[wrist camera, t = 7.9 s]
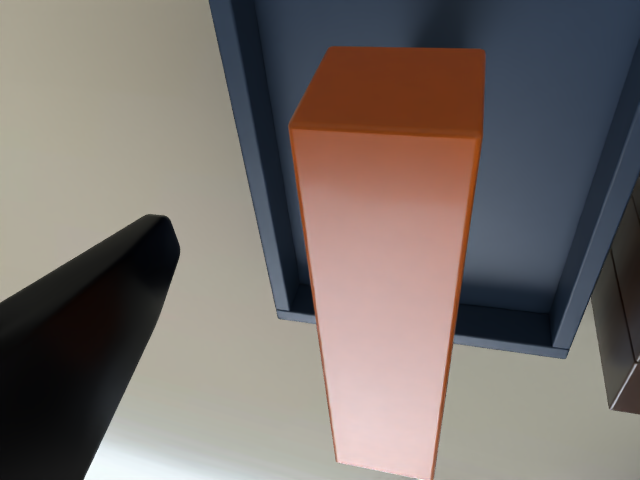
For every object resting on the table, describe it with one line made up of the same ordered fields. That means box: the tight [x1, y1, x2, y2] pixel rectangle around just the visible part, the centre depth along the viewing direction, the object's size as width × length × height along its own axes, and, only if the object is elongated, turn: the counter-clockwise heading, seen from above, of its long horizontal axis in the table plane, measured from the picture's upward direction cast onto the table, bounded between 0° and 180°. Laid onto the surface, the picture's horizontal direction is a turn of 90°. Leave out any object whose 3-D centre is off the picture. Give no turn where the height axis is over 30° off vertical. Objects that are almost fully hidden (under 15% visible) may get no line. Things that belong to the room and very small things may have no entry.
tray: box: [209, 0, 640, 359], centre depth 14 cm, size 19×11×2 cm, turn 5°
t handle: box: [288, 46, 486, 480], centre depth 11 cm, size 8×2×9 cm, turn 5°
